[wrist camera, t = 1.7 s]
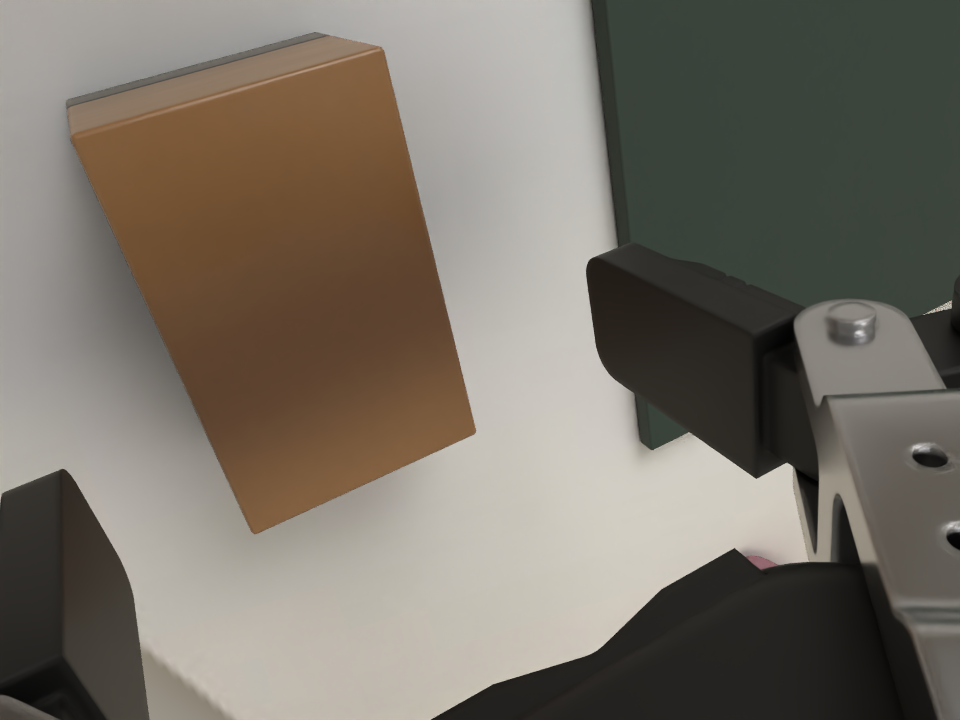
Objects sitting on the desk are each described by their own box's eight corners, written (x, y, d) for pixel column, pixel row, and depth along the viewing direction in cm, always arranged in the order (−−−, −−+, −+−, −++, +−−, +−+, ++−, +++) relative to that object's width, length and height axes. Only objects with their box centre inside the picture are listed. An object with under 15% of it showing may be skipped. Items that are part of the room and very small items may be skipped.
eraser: (64, 100, 15) (67, 135, 11) (317, 30, 16) (384, 45, 13) (218, 440, 19) (253, 537, 16) (410, 361, 20) (478, 434, 17)
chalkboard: (574, -145, 17) (589, -148, 17) (1244, -296, 24) (1268, -302, 24) (640, 442, 25) (651, 451, 25) (1126, 201, 32) (1142, 205, 32)
